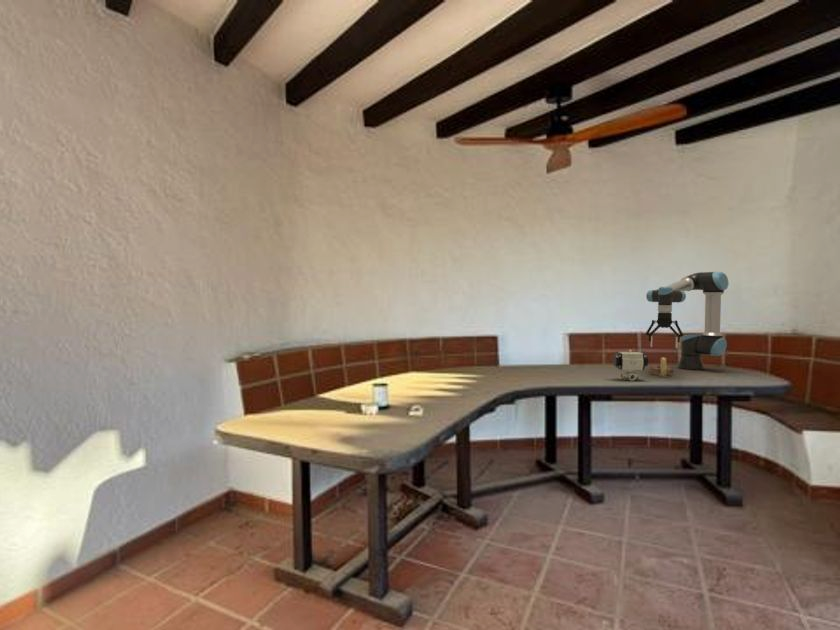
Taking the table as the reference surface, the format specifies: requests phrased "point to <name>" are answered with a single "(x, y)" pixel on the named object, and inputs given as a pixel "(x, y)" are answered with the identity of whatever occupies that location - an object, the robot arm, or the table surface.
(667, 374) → the hole block
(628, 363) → the ball valve
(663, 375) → the brass peg
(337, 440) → the table surface
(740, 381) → the table surface
